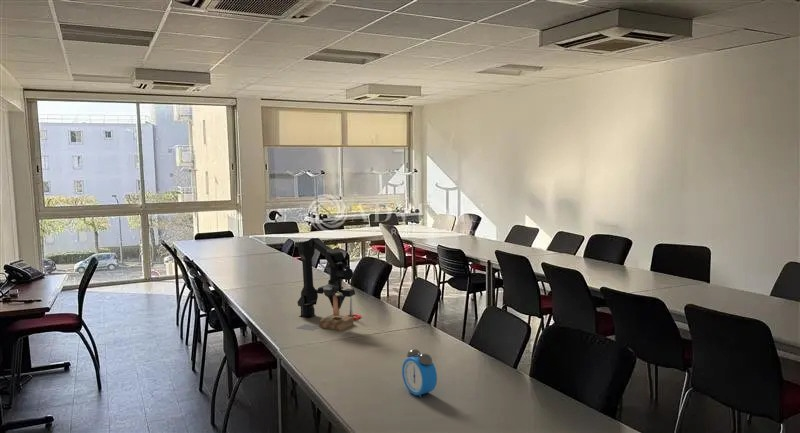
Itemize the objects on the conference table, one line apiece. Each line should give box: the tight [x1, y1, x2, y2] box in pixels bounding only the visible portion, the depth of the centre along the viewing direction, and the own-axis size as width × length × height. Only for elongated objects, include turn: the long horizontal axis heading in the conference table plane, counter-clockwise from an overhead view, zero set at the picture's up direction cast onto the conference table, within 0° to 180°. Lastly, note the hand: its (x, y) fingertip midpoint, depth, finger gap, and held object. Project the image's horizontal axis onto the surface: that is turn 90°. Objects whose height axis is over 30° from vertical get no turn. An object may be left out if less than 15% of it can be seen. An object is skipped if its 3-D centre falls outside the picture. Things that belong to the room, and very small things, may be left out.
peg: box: [332, 294, 340, 316], centre depth 284 cm, size 3×3×10 cm
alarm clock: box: [401, 348, 438, 398], centre depth 201 cm, size 13×6×15 cm, turn 35°
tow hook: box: [345, 296, 362, 321], centre depth 300 cm, size 8×13×9 cm
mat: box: [296, 323, 320, 332], centre depth 283 cm, size 10×8×1 cm
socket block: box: [319, 314, 354, 331], centre depth 285 cm, size 12×12×4 cm
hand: (336, 308), depth 284 cm, fingers closed on peg, 3 cm apart
